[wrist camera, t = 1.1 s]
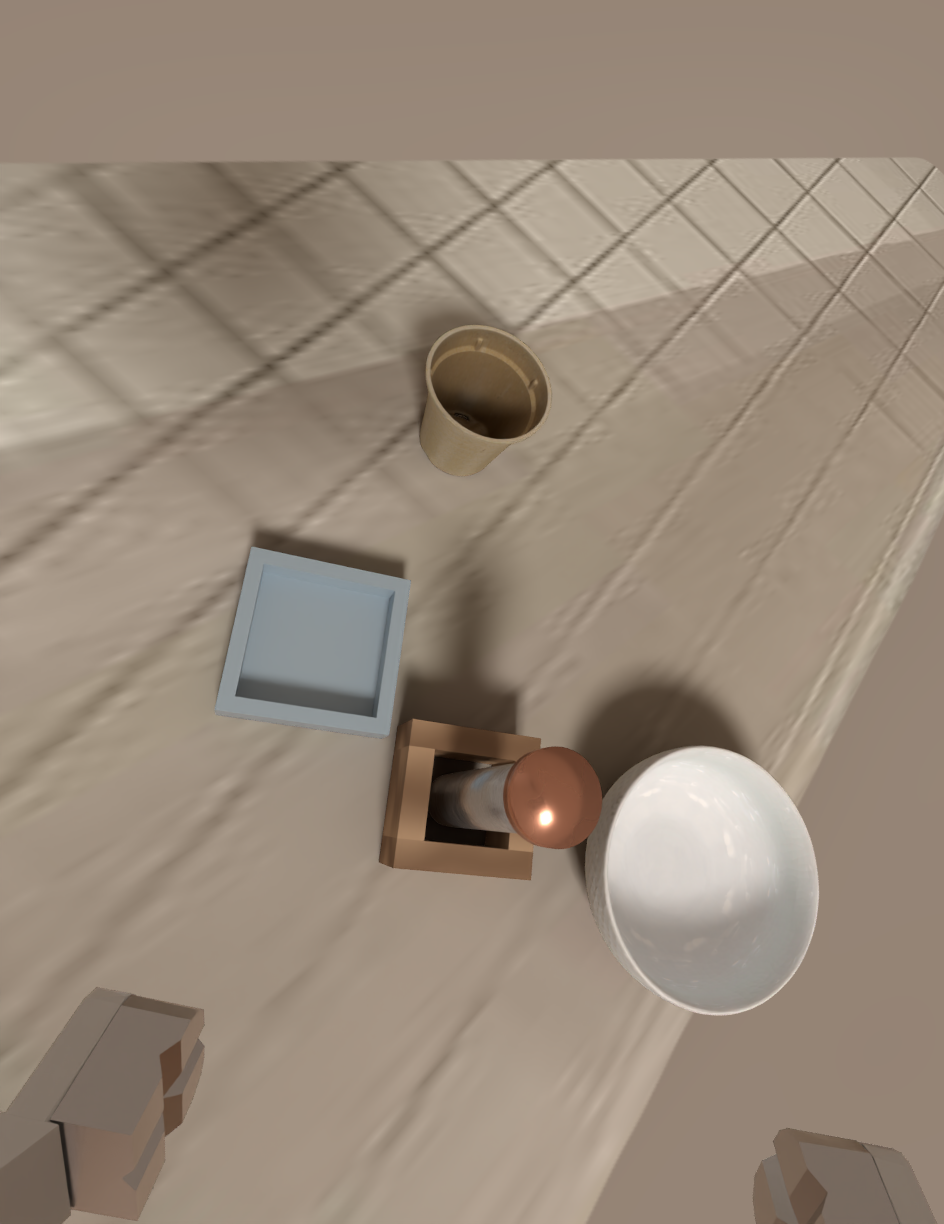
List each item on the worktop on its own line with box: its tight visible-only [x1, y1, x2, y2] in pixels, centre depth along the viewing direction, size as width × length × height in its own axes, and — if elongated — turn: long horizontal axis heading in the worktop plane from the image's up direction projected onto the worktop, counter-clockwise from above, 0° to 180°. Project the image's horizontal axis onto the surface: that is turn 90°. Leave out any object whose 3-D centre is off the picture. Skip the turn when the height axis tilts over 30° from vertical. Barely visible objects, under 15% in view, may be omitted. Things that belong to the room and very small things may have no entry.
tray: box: [215, 546, 411, 739], centre depth 45 cm, size 11×11×2 cm
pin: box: [428, 747, 602, 849], centre depth 39 cm, size 5×5×17 cm
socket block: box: [379, 719, 541, 880], centre depth 45 cm, size 9×9×4 cm
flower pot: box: [420, 325, 552, 476], centre depth 51 cm, size 9×9×9 cm
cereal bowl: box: [585, 745, 819, 1015], centre depth 47 cm, size 17×17×7 cm
